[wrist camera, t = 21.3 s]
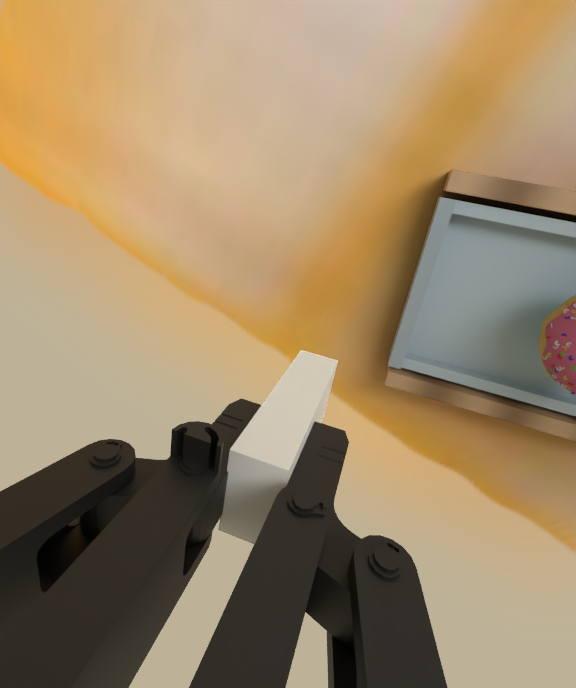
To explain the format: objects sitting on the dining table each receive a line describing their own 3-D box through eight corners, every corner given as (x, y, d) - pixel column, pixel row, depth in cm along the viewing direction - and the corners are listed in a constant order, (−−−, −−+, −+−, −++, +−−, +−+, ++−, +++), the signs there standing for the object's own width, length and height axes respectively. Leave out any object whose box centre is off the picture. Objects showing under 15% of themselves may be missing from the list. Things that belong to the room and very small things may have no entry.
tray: (739, 253, 29) (772, 260, 26) (631, 420, 35) (649, 439, 32) (438, 196, 33) (440, 196, 30) (389, 353, 39) (387, 365, 36)
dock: (786, 231, 28) (833, 236, 25) (642, 443, 36) (664, 467, 32) (448, 171, 32) (452, 169, 29) (386, 370, 40) (384, 385, 37)
